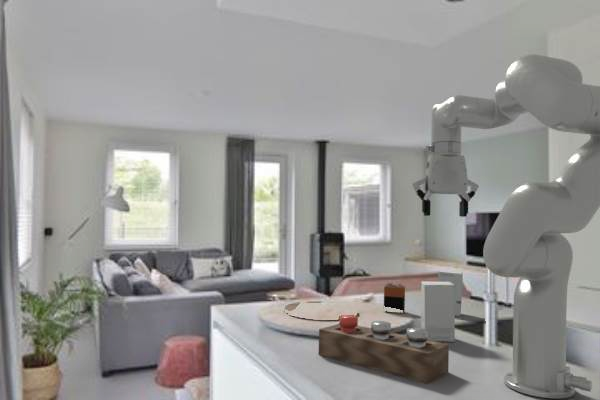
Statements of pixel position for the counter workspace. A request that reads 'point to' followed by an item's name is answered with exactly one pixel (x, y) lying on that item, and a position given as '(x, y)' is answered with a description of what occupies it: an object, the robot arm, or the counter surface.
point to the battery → (394, 296)
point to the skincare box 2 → (457, 280)
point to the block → (385, 353)
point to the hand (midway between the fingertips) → (444, 216)
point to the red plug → (348, 323)
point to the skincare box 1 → (438, 310)
